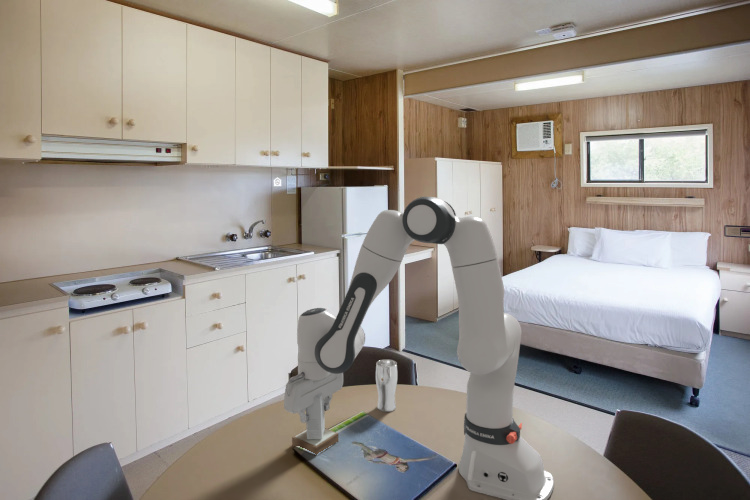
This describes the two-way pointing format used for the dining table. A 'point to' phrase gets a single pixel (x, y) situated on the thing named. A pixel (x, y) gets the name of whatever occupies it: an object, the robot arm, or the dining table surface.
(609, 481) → the dining table surface
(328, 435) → the plinth
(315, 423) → the skincare box
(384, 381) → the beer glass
